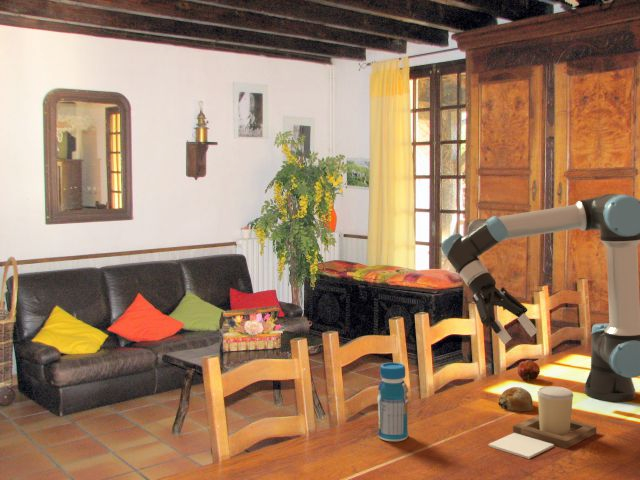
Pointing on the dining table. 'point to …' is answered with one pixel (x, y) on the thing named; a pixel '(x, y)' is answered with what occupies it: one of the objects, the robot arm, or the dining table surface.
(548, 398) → the coffee cup
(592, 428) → the square frame
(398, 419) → the beverage bottle
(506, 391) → the bread roll
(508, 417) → the dining table surface
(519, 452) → the white tile
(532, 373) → the pomegranate
